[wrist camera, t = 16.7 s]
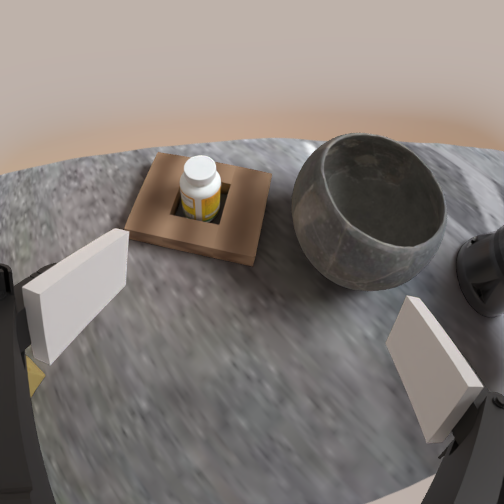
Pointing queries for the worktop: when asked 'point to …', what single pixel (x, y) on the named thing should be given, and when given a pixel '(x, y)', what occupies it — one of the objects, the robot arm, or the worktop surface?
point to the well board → (193, 231)
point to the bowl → (368, 212)
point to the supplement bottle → (200, 189)
